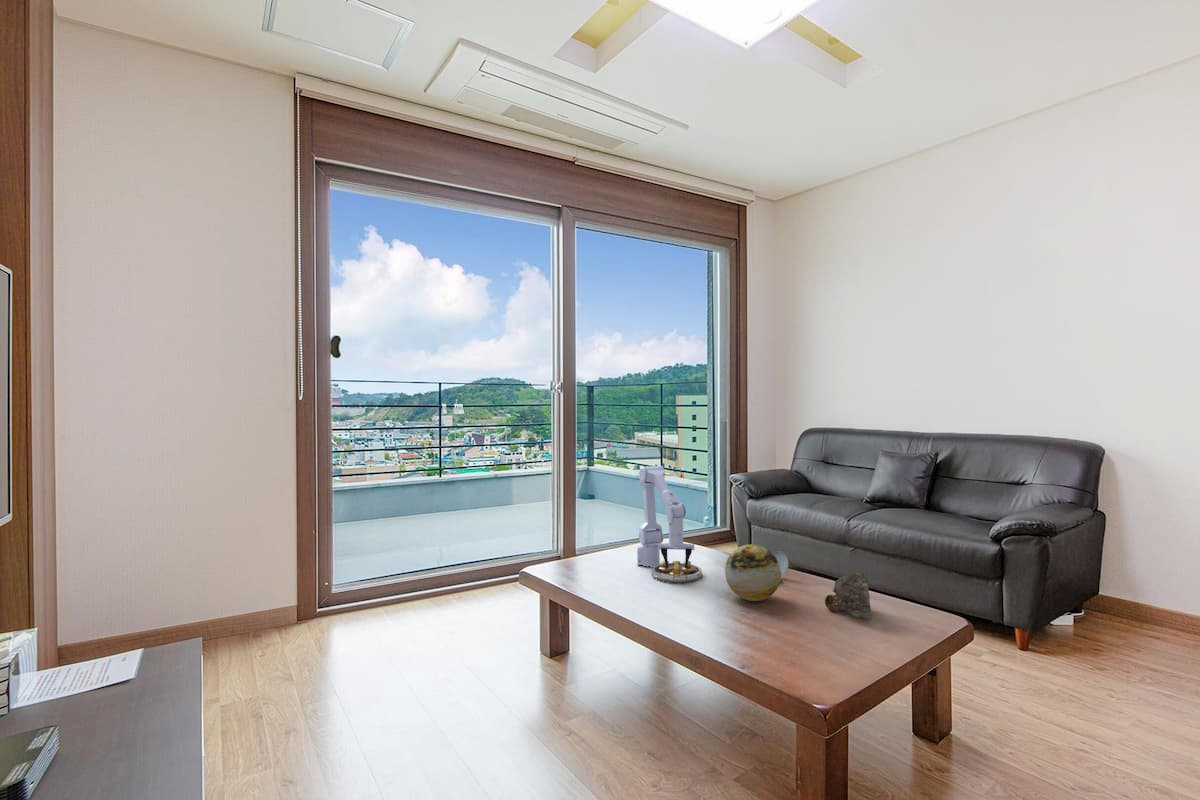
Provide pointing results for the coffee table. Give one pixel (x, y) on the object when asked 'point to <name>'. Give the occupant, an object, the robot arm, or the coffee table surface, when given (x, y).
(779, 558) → the pocket watch
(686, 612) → the coffee table surface
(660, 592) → the coffee table surface
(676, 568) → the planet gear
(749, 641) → the coffee table surface
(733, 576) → the decorative sphere
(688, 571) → the carrier
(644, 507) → the robot arm
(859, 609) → the rock
